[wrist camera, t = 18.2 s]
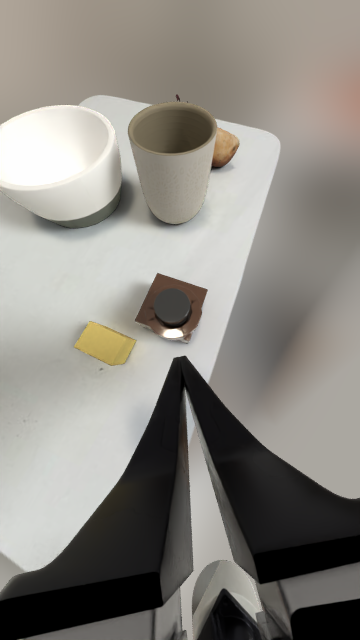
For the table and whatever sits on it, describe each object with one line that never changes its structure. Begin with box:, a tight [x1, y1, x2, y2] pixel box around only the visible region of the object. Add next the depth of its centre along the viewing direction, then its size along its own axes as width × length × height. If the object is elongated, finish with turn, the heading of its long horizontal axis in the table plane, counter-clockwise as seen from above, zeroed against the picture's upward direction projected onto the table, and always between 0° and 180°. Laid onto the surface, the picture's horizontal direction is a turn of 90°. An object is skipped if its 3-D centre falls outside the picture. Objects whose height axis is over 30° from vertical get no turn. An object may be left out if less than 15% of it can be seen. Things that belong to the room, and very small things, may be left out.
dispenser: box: [135, 273, 208, 344], centre depth 20 cm, size 9×8×6 cm
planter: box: [128, 102, 217, 224], centre depth 24 cm, size 12×12×11 cm
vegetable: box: [176, 95, 239, 167], centre depth 29 cm, size 16×11×10 cm
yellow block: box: [74, 321, 136, 366], centre depth 20 cm, size 6×4×4 cm, turn 66°
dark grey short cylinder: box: [154, 288, 190, 327], centre depth 16 cm, size 4×4×2 cm
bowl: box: [0, 105, 122, 228], centre depth 26 cm, size 22×22×8 cm
